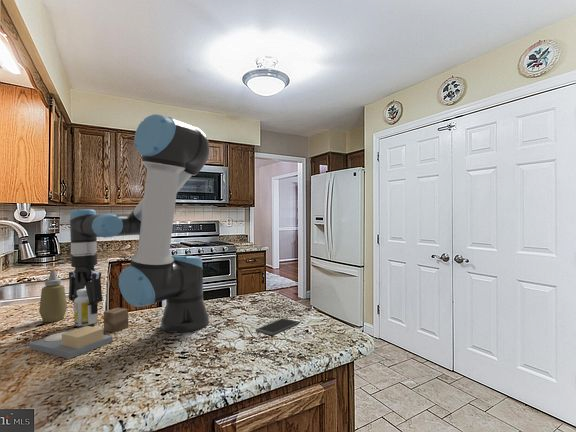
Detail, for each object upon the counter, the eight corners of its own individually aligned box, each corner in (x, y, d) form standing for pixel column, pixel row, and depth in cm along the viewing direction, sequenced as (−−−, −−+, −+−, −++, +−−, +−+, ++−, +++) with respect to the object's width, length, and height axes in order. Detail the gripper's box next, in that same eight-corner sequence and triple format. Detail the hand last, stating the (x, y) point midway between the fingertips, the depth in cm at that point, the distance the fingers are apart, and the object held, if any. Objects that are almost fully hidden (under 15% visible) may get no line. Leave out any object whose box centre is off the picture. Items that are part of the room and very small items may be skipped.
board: (112, 341, 91) (112, 326, 91) (69, 358, 80) (69, 341, 80) (73, 333, 98) (73, 319, 98) (29, 348, 87) (28, 332, 87)
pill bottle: (101, 321, 109) (100, 287, 109) (83, 327, 102) (83, 292, 103) (87, 319, 111) (87, 287, 111) (69, 325, 105) (68, 291, 105)
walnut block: (128, 327, 103) (128, 309, 103) (114, 332, 99) (114, 313, 99) (117, 325, 105) (117, 307, 105) (103, 330, 101) (103, 311, 101)
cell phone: (254, 332, 97) (254, 329, 97) (283, 320, 108) (283, 317, 108) (272, 337, 93) (271, 334, 93) (300, 324, 103) (300, 321, 103)
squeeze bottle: (52, 324, 107) (51, 272, 108) (33, 323, 109) (32, 271, 109) (72, 317, 115) (72, 268, 115) (54, 316, 117) (54, 268, 117)
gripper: (113, 253, 106) (115, 321, 106) (77, 252, 114) (78, 316, 114) (92, 256, 99) (94, 329, 99) (54, 255, 107) (56, 322, 107)
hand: (85, 322), depth 107 cm, fingers closed on pill bottle, 6 cm apart
